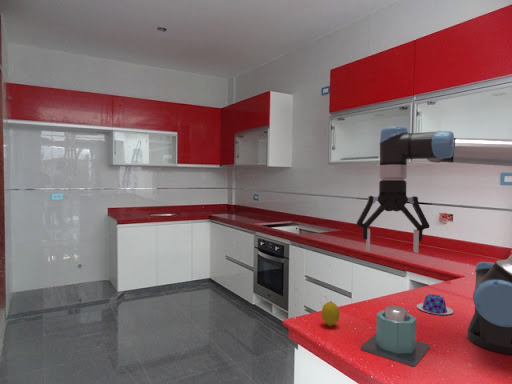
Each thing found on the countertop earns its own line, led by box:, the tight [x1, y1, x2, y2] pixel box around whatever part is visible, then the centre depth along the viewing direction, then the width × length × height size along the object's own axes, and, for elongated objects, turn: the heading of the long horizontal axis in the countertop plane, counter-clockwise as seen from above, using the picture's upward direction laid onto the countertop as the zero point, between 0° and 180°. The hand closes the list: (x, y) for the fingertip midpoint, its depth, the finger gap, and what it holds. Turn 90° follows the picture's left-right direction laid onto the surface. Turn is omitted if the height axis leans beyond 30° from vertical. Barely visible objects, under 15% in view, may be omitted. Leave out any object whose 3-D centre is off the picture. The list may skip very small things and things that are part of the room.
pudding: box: [416, 293, 454, 315], centre depth 131 cm, size 12×12×5 cm
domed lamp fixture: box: [360, 305, 431, 368], centre depth 99 cm, size 14×14×11 cm
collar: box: [375, 309, 418, 354], centre depth 99 cm, size 10×10×8 cm
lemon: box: [321, 300, 340, 327], centre depth 114 cm, size 6×6×8 cm
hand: (391, 251), depth 107 cm, fingers open, 13 cm apart
